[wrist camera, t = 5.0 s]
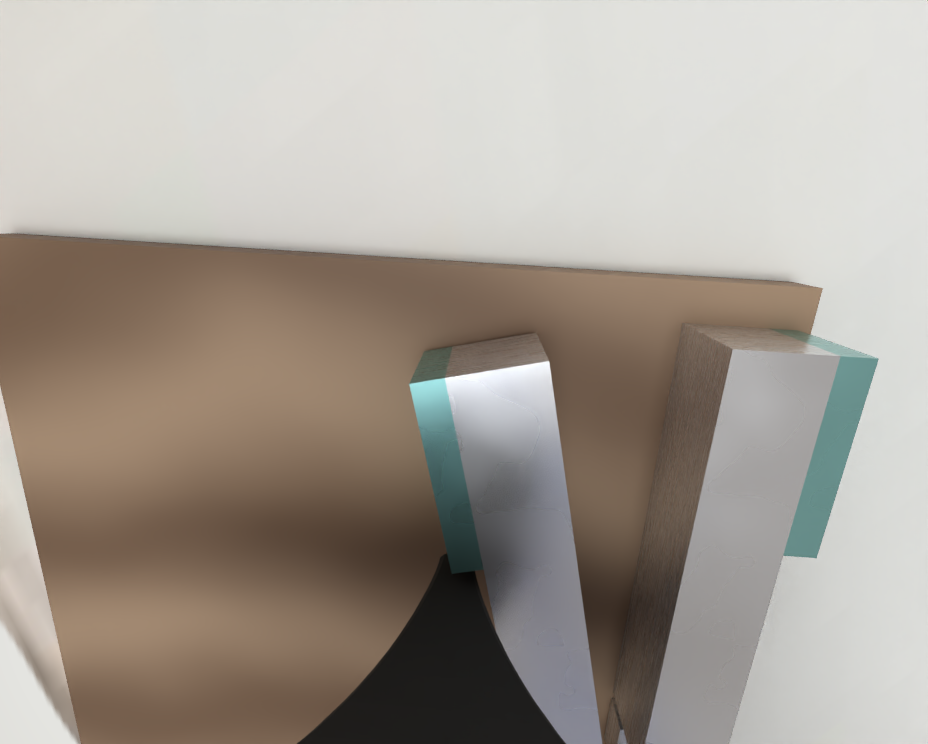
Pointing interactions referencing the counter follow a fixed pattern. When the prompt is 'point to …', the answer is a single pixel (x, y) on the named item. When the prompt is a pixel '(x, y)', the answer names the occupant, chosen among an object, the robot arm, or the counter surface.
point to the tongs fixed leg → (729, 519)
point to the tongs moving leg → (511, 512)
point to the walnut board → (301, 458)
